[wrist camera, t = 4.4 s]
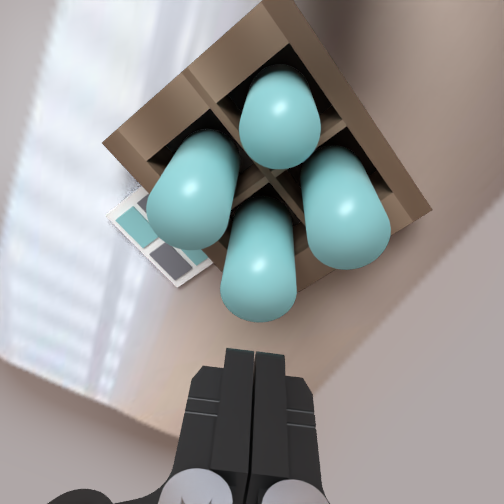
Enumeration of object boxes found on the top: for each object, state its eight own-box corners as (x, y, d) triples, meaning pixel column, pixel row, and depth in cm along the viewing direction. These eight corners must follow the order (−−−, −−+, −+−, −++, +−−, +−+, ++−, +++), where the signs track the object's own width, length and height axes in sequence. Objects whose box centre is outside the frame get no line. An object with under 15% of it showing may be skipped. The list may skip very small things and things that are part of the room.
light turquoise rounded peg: (268, 184, 28) (265, 244, 21) (304, 228, 29) (311, 298, 23) (221, 218, 29) (204, 284, 22) (257, 259, 30) (252, 333, 24)
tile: (155, 174, 31) (152, 178, 30) (225, 250, 33) (224, 256, 32) (108, 212, 32) (104, 217, 31) (178, 283, 34) (176, 289, 34)
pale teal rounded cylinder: (212, 115, 26) (190, 157, 20) (253, 165, 27) (245, 221, 21) (164, 154, 27) (129, 206, 21) (206, 201, 29) (184, 264, 22)
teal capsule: (285, 50, 26) (288, 69, 20) (322, 102, 28) (336, 137, 21) (235, 91, 28) (222, 122, 21) (273, 140, 29) (271, 184, 22)
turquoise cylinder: (340, 131, 26) (361, 179, 20) (375, 181, 27) (406, 241, 21) (287, 170, 27) (290, 226, 21) (323, 216, 29) (336, 282, 22)
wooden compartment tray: (281, -16, 25) (281, -17, 22) (414, 184, 30) (432, 210, 27) (122, 124, 29) (101, 142, 26) (263, 281, 34) (261, 314, 31)
